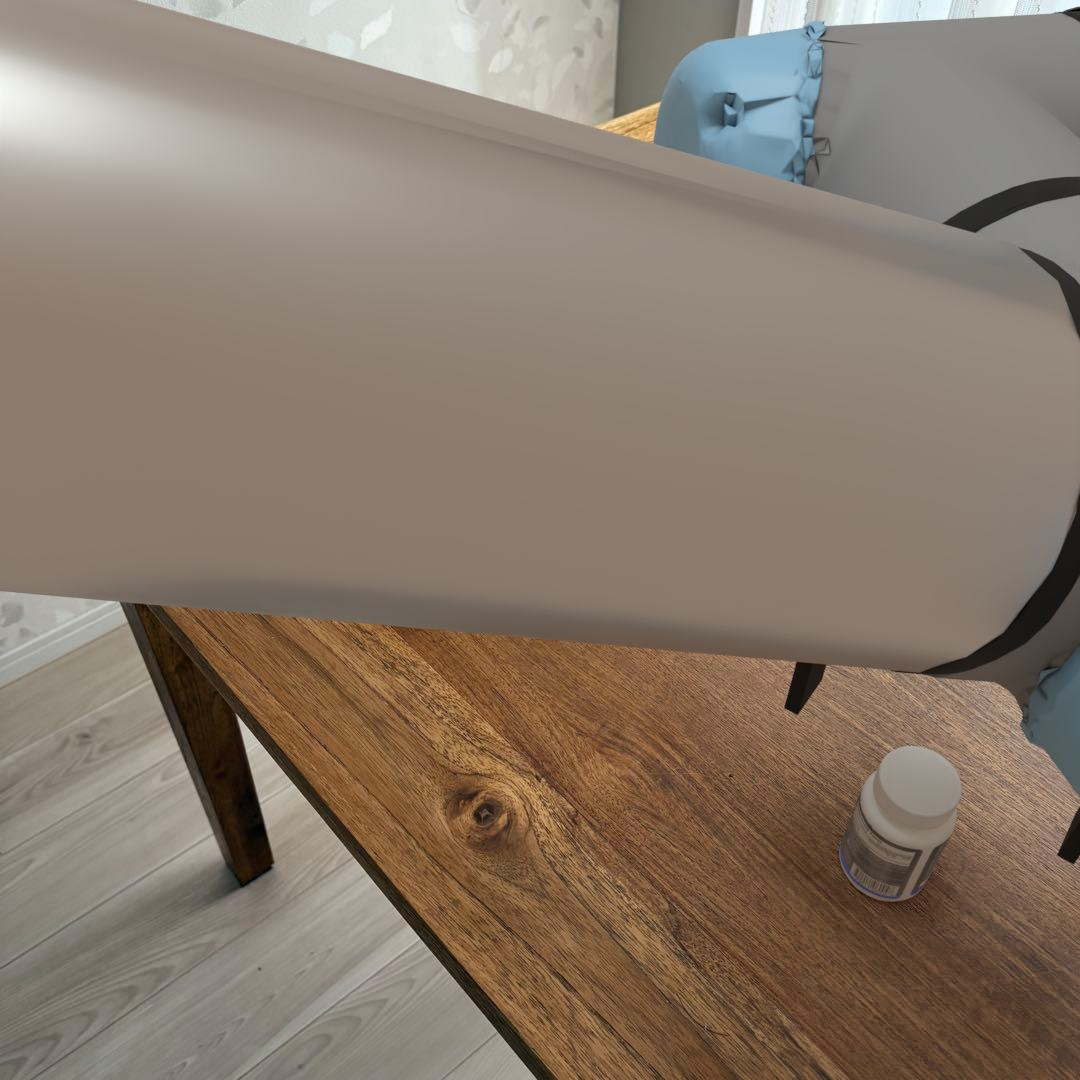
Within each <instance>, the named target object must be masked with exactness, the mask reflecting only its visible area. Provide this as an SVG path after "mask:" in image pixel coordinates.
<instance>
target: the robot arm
mask: <svg viewBox="0 0 1080 1080" xmlns="http://www.w3.org/2000/svg"><path fill="white" fill-rule="evenodd" d="M655 121H656V122H655V127H654V135H653V143H652V142H649V141H645V140H641V139H637V138H635V137H630V136H627V135H623V134H621V133H616V132H613V131H609V130H605V129H603V128H598V127H595V126H591V125H587V124H584V123H580V122H577V121H573V120H569V119H566V118H563V117H559V116H555V115H552V114H548V113H544V112H542V111H541V112H540V111H537V110H533V109H529V108H526V107H522V106H519V105H515V104H512V103H508V102H505V101H501V100H498V99H494V98H490V97H486V96H483V95H479V94H476V93H472V92H469V91H465V90H461V89H457V88H454V87H451V86H447V85H444V84H441V83H436V82H433V81H428V80H425V79H421V78H418V77H414V76H411V75H407V74H403V73H400V72H397V71H393V70H390V69H386V68H382V67H378V66H375V65H372V64H367V63H364V62H360V61H357V60H353V59H349V58H346V57H343V56H340V55H336V54H331V53H328V52H324V51H321V50H317V49H314V48H311V47H310V48H309V47H306V46H303V45H299V44H296V43H292V42H287V41H285V40H282V39H279V38H278V39H277V38H274V37H270V36H267V35H264V34H260V33H256V32H252V31H249V30H245V29H242V28H238V27H235V26H231V25H227V24H224V23H220V22H217V21H213V20H209V19H205V18H202V17H199V16H194V15H191V14H188V13H184V12H180V11H177V10H173V9H169V8H166V7H163V6H158V5H155V4H151V3H148V2H146V1H145V2H144V1H141V0H0V592H4V593H16V594H26V595H37V596H38V595H40V596H47V597H48V596H50V597H60V598H72V599H85V600H95V601H107V602H118V603H129V604H138V605H139V604H141V605H151V606H161V607H163V606H164V607H173V608H175V607H176V608H184V609H185V608H186V609H194V610H195V609H198V610H207V611H219V612H229V613H230V612H231V613H240V614H241V613H242V614H253V615H263V616H265V615H266V616H276V617H287V618H298V619H299V618H300V619H309V620H321V621H331V622H343V623H353V624H354V623H356V624H367V625H375V626H376V625H379V626H389V627H398V628H399V627H400V628H411V629H420V630H421V629H423V630H433V631H446V632H457V633H468V634H478V635H490V636H499V637H500V636H501V637H512V638H513V637H514V638H525V639H534V640H535V639H536V640H547V641H557V642H558V641H559V642H569V643H582V644H592V645H602V646H613V647H625V648H638V649H646V650H647V649H648V650H659V651H671V652H683V653H694V654H704V655H705V654H706V655H715V656H726V657H729V656H730V657H738V658H739V657H740V658H748V659H749V658H750V659H761V660H762V659H763V660H772V661H784V662H785V661H786V662H794V663H795V666H794V670H793V673H792V677H791V681H790V684H789V688H788V692H787V696H786V699H785V704H784V707H783V708H784V710H785V709H786V710H787V711H789V712H790V713H793V714H794V715H796V716H799V714H800V713H801V711H802V710H803V708H804V707H805V706H806V705H807V703H808V701H809V700H810V698H811V697H812V695H813V694H814V692H815V691H816V689H817V688H818V686H819V685H820V683H821V682H822V681H823V678H824V674H825V671H826V668H827V665H829V666H840V667H841V666H842V667H852V668H862V669H863V668H864V669H872V670H873V669H875V670H885V671H890V672H893V673H902V674H914V675H923V676H928V677H931V678H934V679H936V678H937V679H944V680H955V681H957V680H958V681H969V682H971V681H972V682H987V683H994V684H997V685H999V686H1001V687H1003V688H1004V689H1005V690H1006V691H1007V692H1008V693H1010V694H1011V695H1012V696H1013V698H1014V699H1015V701H1016V703H1017V705H1018V707H1019V709H1020V711H1021V713H1022V715H1021V716H1022V719H1021V721H1020V722H1019V727H1020V728H1021V730H1022V732H1023V734H1024V736H1025V737H1026V739H1027V741H1028V742H1029V743H1030V744H1032V745H1034V746H1037V747H1038V748H1040V749H1042V750H1044V751H1045V753H1046V754H1047V755H1048V757H1049V758H1050V759H1051V761H1052V762H1053V763H1054V765H1055V766H1056V768H1057V769H1058V771H1059V772H1060V773H1061V774H1062V776H1063V777H1064V779H1065V780H1066V781H1067V782H1068V784H1069V786H1070V787H1071V788H1072V789H1073V790H1074V792H1075V793H1076V794H1077V795H1078V797H1079V798H1080V6H1075V7H1071V8H1067V9H1065V10H1063V11H1054V12H1052V13H1038V14H1018V15H1002V16H1001V15H999V16H981V17H965V18H947V19H930V20H929V19H928V20H927V19H926V20H912V21H911V20H910V21H893V22H875V23H857V24H837V25H825V20H812V21H809V22H808V23H806V24H805V26H804V27H800V28H799V27H798V28H793V29H785V30H778V31H772V32H765V33H758V34H757V33H756V34H750V35H743V36H736V37H730V38H729V37H728V38H722V39H715V40H711V41H707V42H705V43H703V44H701V45H699V46H698V47H697V48H694V49H693V50H691V51H690V52H689V53H687V54H686V55H685V56H684V57H683V58H682V59H681V60H680V62H679V63H678V64H677V66H676V67H675V69H674V70H673V71H672V74H671V75H670V78H669V80H668V82H667V83H666V86H665V87H664V91H663V93H662V96H661V100H660V103H659V107H658V111H657V115H656V120H655ZM1056 856H1057V857H1058V858H1060V859H1062V860H1064V861H1066V862H1068V863H1069V864H1072V865H1075V863H1077V861H1078V859H1079V858H1080V806H1079V807H1078V808H1077V810H1076V811H1075V813H1074V816H1073V817H1072V819H1071V823H1070V824H1069V827H1068V829H1067V831H1066V833H1065V835H1064V838H1063V840H1062V843H1061V845H1060V847H1059V849H1058V852H1057V854H1056Z"/></svg>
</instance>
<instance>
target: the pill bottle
mask: <svg viewBox="0 0 1080 1080" xmlns="http://www.w3.org/2000/svg"><path fill="white" fill-rule="evenodd" d="M879 763H880V764H879V766H878V768H877V769H876V770H875V771H874V772H872V773H871V774H870V775H869V776H868V777H867V779H866V780H865V782H864V783H863V785H862V787H861V789H860V792H859V795H858V798H857V801H856V803H855V806H854V809H853V811H852V813H851V815H850V818H849V821H848V823H847V826H846V829H845V830H844V831H845V832H844V834H843V836H842V839H841V842H840V845H839V851H838V852H839V854H838V857H839V862H840V866H841V868H842V870H843V873H844V875H845V876H846V878H847V879H848V881H849V882H850V883H851V884H852V885H853V887H855V889H857V890H858V891H859V892H861V893H863V894H864V895H866V896H867V897H870V898H872V899H874V900H876V901H881V902H890V903H891V902H893V903H894V902H895V903H896V902H902V901H906V900H909V899H911V898H913V897H915V896H916V895H918V893H920V892H921V891H922V890H923V888H924V887H925V885H926V884H927V882H928V880H929V878H930V877H931V874H932V872H933V871H934V868H935V866H936V865H937V863H938V861H939V859H940V858H941V856H942V855H943V852H944V851H945V848H946V847H947V844H948V842H949V840H950V839H951V837H952V835H953V832H954V830H955V828H956V824H957V820H958V811H957V809H958V808H957V807H958V806H959V803H960V801H961V797H962V792H963V786H962V781H961V777H960V775H959V773H958V772H957V770H956V768H955V767H954V765H953V764H952V763H951V762H950V761H949V760H948V759H947V758H946V757H944V756H943V755H941V754H940V753H938V752H937V751H935V750H933V749H931V748H927V747H923V746H918V745H903V746H900V747H896V748H895V749H892V750H891V751H889V752H888V753H887V754H886V755H885V756H884V757H883V758H882V760H881V762H879Z"/></svg>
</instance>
